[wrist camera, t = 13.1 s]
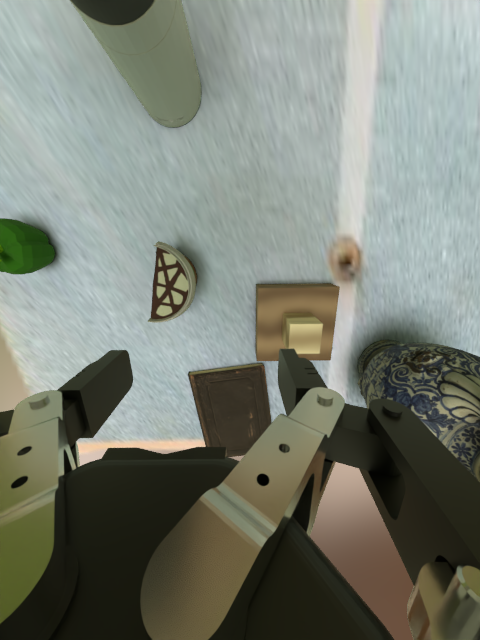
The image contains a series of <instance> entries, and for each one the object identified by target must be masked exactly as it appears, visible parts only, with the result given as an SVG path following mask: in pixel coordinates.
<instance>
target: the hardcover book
mask: <svg viewBox="0 0 480 640" xmlns="http://www.w3.org/2000/svg"><path fill="white" fill-rule="evenodd" d="M188 376H189V380H190V384H191V388H192V392H193V396H194V400H195V405H196V409H197V413H198V417H199V421H200V425H201V429H202V433H203V437H204V441H205V445H206V447H226V457H233V456H241V455H246V453H247V452H248V451H249V450H250V449H251V447H252V446H253V445H254V444H255V443H256V441H257V440H258V439H259V438H260V437H261V435H262V434H263V433H264V432H265V431H266V429H267V428H268V427H269V426H270V425H271V416H270V408H269V401H268V393H267V385H266V377H265V369H264V365H262V363H259V364H251V365H243V366H236V367H228V368H220V369H213V370H205V371H197V372H189V373H188Z"/></svg>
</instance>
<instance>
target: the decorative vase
mask: <svg viewBox="0 0 480 640" xmlns="http://www.w3.org/2000/svg"><path fill="white" fill-rule="evenodd" d="M358 370H359V373H360V375H361V377H362V378H360V379H359V382H358V385H359V387H360V389H361V391H360V392H361V395H362V396H363V397H364V399H365V401H366V405H367V408H368V409H369V404H370V402H371V401H372V400H374V399H381V398H382V399H389V400H393V401H396V402H398V403H401V404H403V405H404V406H406V407H407V408H409V409H410V410H411V411H412V412H413V413H414V414H415V415H416V416H417V417H418V418H419V419H420V420H421V421H422V422H423V423H424V424H425V425H426V426H427V428H428V429H429V430H430V431H431V432H432V433H433V434H434V435H435V436H436V437H437V438H438V439H439V440H440V441H441V442H442V443H443V444H444V445H445V446H446V448H447V449H448V450H449V451H450V452H451V453H452V454H453V455H454V456H455V457H456V458H457V459H458V460H459V461H460V462H461V463H462V464H463V465H464V466H465V468H466V469H467V470H468V471H469V472H470V473H471V474H472V475H473V476H474V477H475V478H476V479H477V480H478V481H479V482H480V357H478V356H476V355H473V354H470V353H468V352H465V351H462V350H459V349H455V348H451V347H448V346H443V345H437V344H429V343H406V344H401V343H400V342H397V341H394V340H382V341H379V342H376V343H374V344H372V345H370V346H369V347H368V348H367V349H366V350H365V351H364V352H363V353H362V355H361V356H360V359H359V361H358Z"/></svg>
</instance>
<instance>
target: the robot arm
mask: <svg viewBox="0 0 480 640" xmlns="http://www.w3.org/2000/svg"><path fill="white" fill-rule="evenodd" d="M70 1H71V3H72V4H73V5H74V7H75V8H76V10H77V11H78V13H79V14H80V16H81V17H82V18H83V20H84V21H85V23H86V24H87V26H88V27H89V29H90V30H91V31H92V33H93V34H94V36H95V37H96V38H97V40H98V41H99V43H100V44H101V46H102V47H103V49H104V50H105V51H106V53H107V54H108V56H109V57H110V59H111V60H112V62H113V63H114V64H115V66H116V67H117V69H118V70H119V72H120V73H121V75H122V76H123V77H124V79H125V80H126V82H127V83H128V85H129V86H130V88H131V89H132V90H133V92H134V93H135V95H136V96H137V98H138V99H139V101H140V102H141V103H142V105H143V106H144V108H145V109H146V110H147V112H148V113H149V115H150V116H151V117H152V118H153V119H154V120H155V121H157V122H158V123H160V124H161V125H164V126H167V127H173V128H174V127H180V126H182V125H185V124H187V123H188V122H189V121H190V120H191V119H192V118H193V117H194V116H195V114H196V112H197V110H198V109H199V105H200V102H201V94H202V92H201V82H200V78H199V73H198V69H197V65H196V60H195V56H194V52H193V47H192V43H191V39H190V35H189V31H188V27H187V22H186V18H185V14H184V10H183V6H182V1H181V0H70ZM132 383H133V375H132V369H131V364H130V358H129V354H128V352H127V351H126V350H111V351H109V352H108V353H106V354H105V355H104V356H103V357H102V358H100V359H99V360H98V361H96V362H94V363H92V364H90V365H88V366H87V367H86V368H84V369H83V370H82V372H79V373H78V374H77V375H76V377H73V378H72V379H71V380H69V381H68V382H67V383H65V384H64V385H63V386H62V387H60V388H59V389H58V390H50V391H44V392H40V393H37V394H35V395H32V396H30V397H28V398H26V399H24V400H23V401H21V402H20V403H19V404H18V405H17V406H16V407H15V410H10V411H5V412H0V640H394V639H393V637H392V636H391V634H390V633H389V631H388V630H387V629H386V627H385V626H384V625H383V623H382V622H381V621H380V620H379V619H378V617H377V616H376V615H375V614H374V613H373V611H372V610H371V609H370V608H369V607H368V606H367V604H366V603H365V602H364V601H363V600H362V598H361V597H360V596H359V595H358V594H357V592H356V591H355V590H354V589H353V588H352V586H350V584H349V583H348V582H347V581H346V579H345V578H344V577H343V576H342V575H341V573H340V572H339V571H338V570H337V569H336V567H335V566H334V565H333V564H332V563H331V561H330V560H329V559H328V558H327V557H326V556H325V554H324V553H323V552H322V551H321V550H320V548H319V547H318V546H317V545H316V544H315V543H314V541H313V540H312V539H311V538H310V534H311V530H312V528H313V524H314V522H315V518H316V514H317V510H318V506H319V503H320V500H321V497H322V495H323V493H324V490H325V487H326V485H327V482H328V480H329V477H330V475H331V472H332V470H333V467H334V465H335V462H338V463H343V464H346V465H349V466H353V467H356V468H359V469H360V471H361V474H362V476H363V478H364V480H365V482H366V484H367V486H368V489H369V491H370V493H371V495H372V497H373V499H374V501H375V503H376V506H377V508H378V510H379V512H380V514H381V516H382V518H383V521H384V522H385V525H386V527H387V529H388V531H389V533H390V535H391V538H392V540H393V542H394V544H395V546H396V548H397V550H398V552H399V555H400V557H401V559H402V561H403V563H404V565H405V567H406V570H407V572H408V574H409V576H410V578H411V580H412V582H413V585H414V588H413V591H412V593H411V596H410V598H409V601H408V606H407V615H408V621H409V626H410V629H411V632H412V636H413V638H414V640H480V482H479V481H478V480H477V479H476V478H475V477H474V476H473V475H472V474H471V473H470V472H469V471H468V470H467V469H466V468H465V466H464V465H463V464H462V463H461V462H460V461H459V460H458V459H457V458H456V457H455V456H454V455H453V454H452V453H451V452H450V451H449V450H448V449H447V448H446V446H445V445H444V444H443V443H442V442H441V441H440V440H439V439H438V438H437V437H436V436H435V435H434V434H433V433H432V432H431V431H430V430H429V429H428V428H427V426H426V425H425V424H424V423H423V422H422V421H421V420H420V419H419V418H418V417H417V416H416V415H415V414H414V413H413V412H412V411H411V410H410V409H409V408H407V407H406V406H404V405H403V404H401V403H398V402H396V401H393V400H389V399H382V398H381V399H374V400H372V401H371V402H370V404H369V409H368V408H363V407H358V406H353V405H349V404H346V403H345V401H344V398H343V397H342V396H341V395H340V394H339V393H337V392H336V391H334V390H331V389H328V388H327V386H326V385H325V383H324V381H323V380H322V378H321V377H320V375H319V374H318V372H317V370H316V369H315V367H314V365H313V364H312V362H310V361H309V360H308V359H306V358H299V357H298V355H297V353H296V351H295V349H280V350H279V363H278V385H279V389H280V393H281V396H282V400H283V404H284V407H285V411H286V414H287V416H286V415H284V414H280V415H278V416H277V417H276V419H275V420H274V421H273V422H272V423H271V425H270V426H269V427H268V428H267V429H266V431H265V432H264V433H263V434H262V435H261V437H260V438H259V439H258V440H257V441H256V443H255V444H254V445H253V446H252V447H251V449H250V450H249V451H248V452H247V453H246V455H245V456H244V457H243V458H242V459H241V461H240V462H239V461H237V460H234V459H232V458H228V457H226V447H196V448H191V449H187V450H182V451H178V452H174V453H169V454H161V453H156V452H152V451H148V450H144V449H140V448H108V449H107V451H106V452H105V454H104V456H103V457H102V459H99V460H95V461H92V462H89V463H87V464H84V465H82V466H80V462H79V452H78V446H77V443H76V441H77V440H78V439H79V438H93V437H94V436H95V434H96V433H97V432H98V430H99V429H100V428H101V426H102V425H103V424H104V422H105V421H106V420H107V419H108V417H109V416H110V415H111V413H112V412H113V411H114V409H115V408H116V407H117V405H118V404H119V403H120V401H121V400H122V399H123V398H124V396H125V395H126V394H127V392H128V391H129V390H130V388H131V386H132Z"/></svg>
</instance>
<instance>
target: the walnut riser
mask: <svg viewBox="0 0 480 640" xmlns="http://www.w3.org/2000/svg"><path fill="white" fill-rule="evenodd" d="M338 295H339V287H338V286H336V285H333V284H331V283H322V284H256V358H257V361H279V350H280V349H286V348H285V345H284V343H283V341H282V324H283V313H312V314H313V315H314V316H315V317H316V318H317V319H318V320H319V321H320V322H321V323H322V324H323V328H322V337H321V346H320V354H297V355H298V357H299V358H306V359H308V360H330V359H331V351H332V343H333V335H334V327H335V319H336V311H337V303H338Z"/></svg>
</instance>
